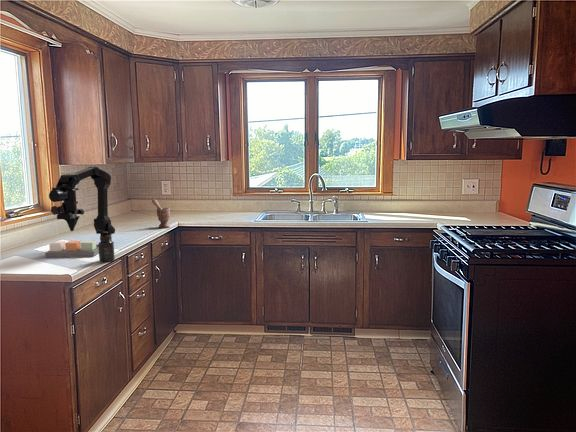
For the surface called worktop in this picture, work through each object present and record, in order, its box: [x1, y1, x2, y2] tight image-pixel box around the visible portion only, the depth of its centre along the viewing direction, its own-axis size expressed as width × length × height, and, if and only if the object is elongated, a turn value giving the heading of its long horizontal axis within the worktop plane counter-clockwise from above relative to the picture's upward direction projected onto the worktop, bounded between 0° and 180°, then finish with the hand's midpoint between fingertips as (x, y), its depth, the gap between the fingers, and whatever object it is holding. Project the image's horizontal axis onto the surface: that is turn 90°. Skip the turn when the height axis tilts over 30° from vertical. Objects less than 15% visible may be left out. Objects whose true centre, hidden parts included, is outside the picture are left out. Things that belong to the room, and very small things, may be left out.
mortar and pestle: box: [151, 198, 171, 229], centre depth 297 cm, size 12×9×20 cm
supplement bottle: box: [97, 235, 116, 263], centre depth 210 cm, size 7×7×12 cm
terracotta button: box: [65, 240, 82, 251], centre depth 222 cm, size 5×5×4 cm
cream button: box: [48, 240, 66, 252], centre depth 221 cm, size 5×5×4 cm
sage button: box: [81, 240, 97, 251], centre depth 222 cm, size 5×5×4 cm
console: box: [44, 246, 99, 259], centre depth 222 cm, size 10×23×2 cm, turn 95°
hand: (72, 231), depth 221 cm, fingers closed
